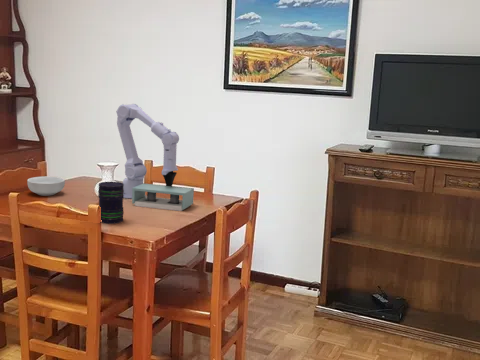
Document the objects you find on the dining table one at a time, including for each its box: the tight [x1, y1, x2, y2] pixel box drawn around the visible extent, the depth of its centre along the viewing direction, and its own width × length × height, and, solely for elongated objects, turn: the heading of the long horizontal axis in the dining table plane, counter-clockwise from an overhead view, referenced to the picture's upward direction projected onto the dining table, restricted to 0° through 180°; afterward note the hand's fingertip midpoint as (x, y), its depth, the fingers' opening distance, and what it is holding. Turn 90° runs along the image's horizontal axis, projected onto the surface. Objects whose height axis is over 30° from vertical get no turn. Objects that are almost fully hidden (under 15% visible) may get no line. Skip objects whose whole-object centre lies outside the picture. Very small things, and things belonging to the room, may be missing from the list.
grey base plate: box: [134, 195, 190, 212], centre depth 256 cm, size 22×12×2 cm, turn 76°
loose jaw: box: [146, 192, 157, 202], centre depth 257 cm, size 4×4×6 cm
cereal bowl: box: [27, 175, 66, 197], centre depth 267 cm, size 17×17×7 cm
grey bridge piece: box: [131, 182, 195, 210], centre depth 255 cm, size 25×12×7 cm, turn 76°
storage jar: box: [97, 181, 125, 225], centre depth 225 cm, size 10×10×15 cm
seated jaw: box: [169, 194, 180, 204], centre depth 254 cm, size 4×4×6 cm
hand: (169, 187), depth 261 cm, fingers closed
